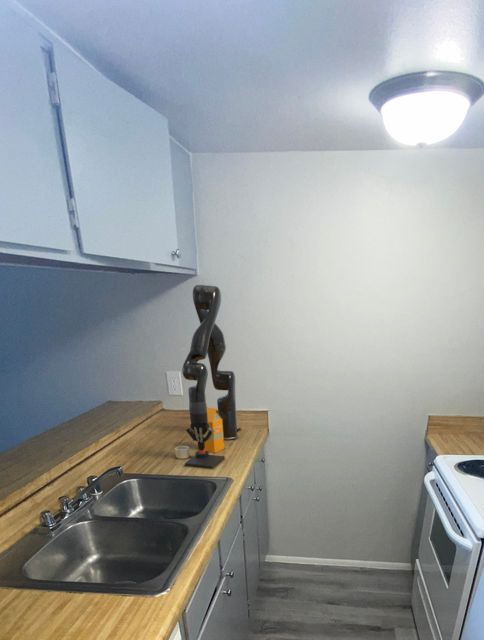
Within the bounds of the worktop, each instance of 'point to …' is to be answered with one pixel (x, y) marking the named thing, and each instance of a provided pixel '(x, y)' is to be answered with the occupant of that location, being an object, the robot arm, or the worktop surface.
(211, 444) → the orange juice
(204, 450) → the tare button
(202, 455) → the scale
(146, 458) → the worktop surface
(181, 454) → the bowl
